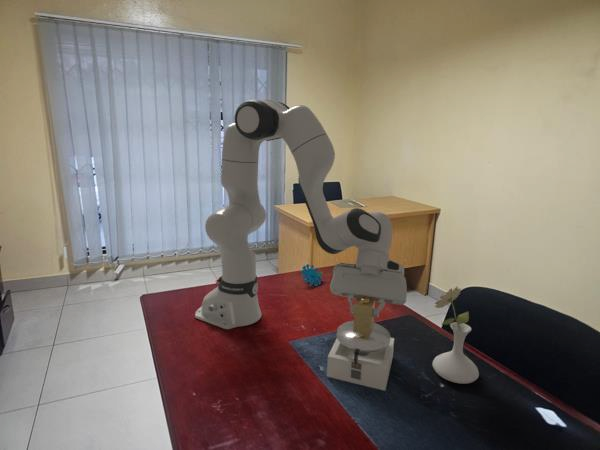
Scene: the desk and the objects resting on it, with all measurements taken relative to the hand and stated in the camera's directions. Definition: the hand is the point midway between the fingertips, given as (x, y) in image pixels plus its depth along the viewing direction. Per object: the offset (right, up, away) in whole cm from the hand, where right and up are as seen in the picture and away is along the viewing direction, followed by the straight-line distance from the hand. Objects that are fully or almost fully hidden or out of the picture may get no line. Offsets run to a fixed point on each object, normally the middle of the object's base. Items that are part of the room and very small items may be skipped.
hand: (364, 314), depth 97 cm
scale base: (0, -15, +5) cm, 16 cm away
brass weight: (0, -4, +2) cm, 5 cm away
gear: (-11, -1, +59) cm, 60 cm away
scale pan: (0, -11, +2) cm, 11 cm away
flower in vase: (+24, -16, +2) cm, 29 cm away
